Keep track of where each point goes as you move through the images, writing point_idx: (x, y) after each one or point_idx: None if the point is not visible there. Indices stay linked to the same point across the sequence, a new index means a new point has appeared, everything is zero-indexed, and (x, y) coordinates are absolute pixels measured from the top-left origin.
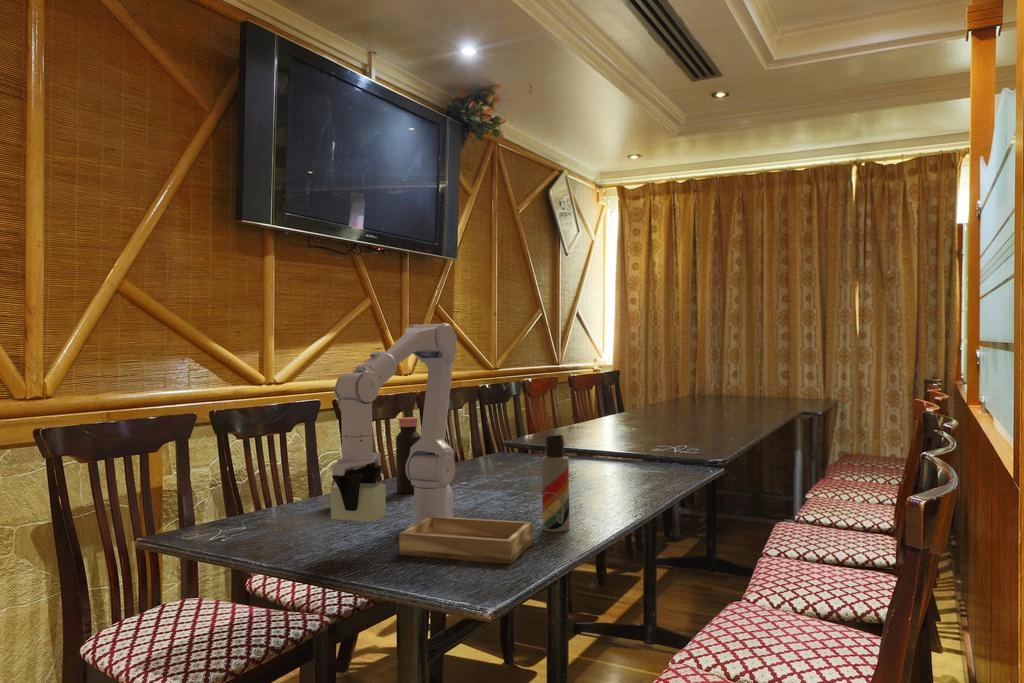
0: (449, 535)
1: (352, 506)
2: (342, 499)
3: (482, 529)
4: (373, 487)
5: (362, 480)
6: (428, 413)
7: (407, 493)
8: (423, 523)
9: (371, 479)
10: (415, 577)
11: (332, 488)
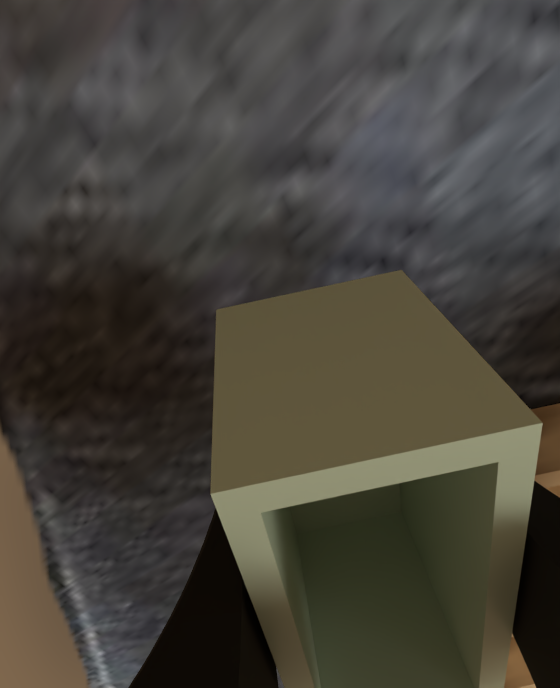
0: (555, 488)
1: None
2: (211, 526)
3: None
4: (468, 634)
5: (543, 607)
6: None
7: None
8: (544, 485)
9: (540, 677)
10: (184, 587)
11: (217, 502)
